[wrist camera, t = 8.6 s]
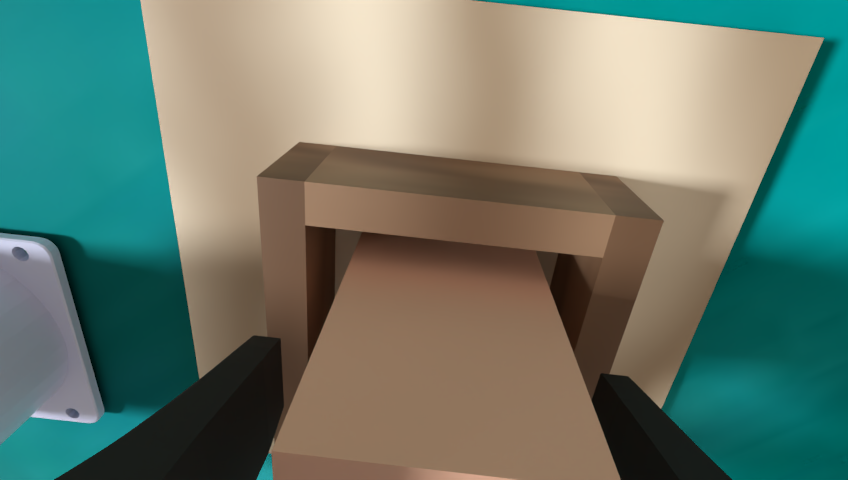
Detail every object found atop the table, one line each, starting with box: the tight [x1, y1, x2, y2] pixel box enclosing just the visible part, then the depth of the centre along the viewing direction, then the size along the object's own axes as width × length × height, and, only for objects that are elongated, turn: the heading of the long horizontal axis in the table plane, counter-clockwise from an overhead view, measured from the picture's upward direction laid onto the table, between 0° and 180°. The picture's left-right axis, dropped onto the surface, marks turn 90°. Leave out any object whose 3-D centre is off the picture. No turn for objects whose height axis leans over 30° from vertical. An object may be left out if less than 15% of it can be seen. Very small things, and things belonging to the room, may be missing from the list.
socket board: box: [140, 0, 824, 453], centre depth 13 cm, size 16×16×4 cm
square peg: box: [272, 232, 621, 480], centre depth 10 cm, size 4×4×8 cm
